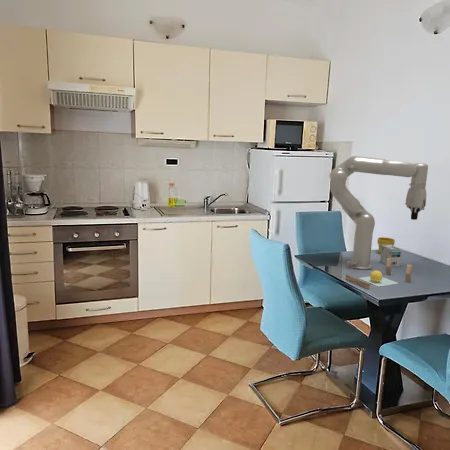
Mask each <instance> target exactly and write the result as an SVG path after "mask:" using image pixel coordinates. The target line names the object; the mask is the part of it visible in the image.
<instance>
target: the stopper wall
mask: <svg viewBox="0 0 450 450" xmlns="http://www.w3.org/2000/svg"><path fill="white" fill-rule="evenodd" d="M346 279H347V280H346ZM345 280H346V281H348V280H349V281H348V282H350V281H352V282H351V283H353V284H355V283H356V284H355V285H357V284H358V285H357V286H359V285H360V287H361V288H362V287H363V288H365V289H366V288H367V290H370V289H371V284H370V283H368V282H365V281H363V280H361V279H358V277H354V276H352V275H349V274H345Z"/></svg>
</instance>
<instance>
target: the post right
mask: <svg viewBox="0 0 450 450" xmlns="http://www.w3.org/2000/svg"><path fill="white" fill-rule="evenodd" d="M405 272H406V273H405V280H404V281H405V283H408V284H409V283H411V280H412V275H413V265H412V264H410V263H408V264H406V270H405Z"/></svg>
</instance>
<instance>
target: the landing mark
mask: <svg viewBox="0 0 450 450" xmlns="http://www.w3.org/2000/svg"><path fill="white" fill-rule="evenodd" d="M358 278H359V280H362V281H364V282H365V281H366V283H369V284H370V283H371V284H370V285H372V284H373V285H372V286H375V287H377V286H378V288H380V286H381V287H386V286H394V285H399V282H397V281H394V280H392V279H388V278H386V277H383V278H382V280H381V281H380V282H373V281H372V280H371V278H370V275H369V276H363V277H358Z"/></svg>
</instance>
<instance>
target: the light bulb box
mask: <svg viewBox="0 0 450 450" xmlns="http://www.w3.org/2000/svg"><path fill="white" fill-rule="evenodd" d="M402 252H403V249H402V248H400V247H398V246H395V245H393V246H392V245H382V249H381V254H380V259H379V260H380V261H379V262H380V263H382V264H383V265H385V266H386V264H387V258H392V266H391V268H393V267H394V268H395V267H398V268H399V267H401V261H402Z"/></svg>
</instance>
